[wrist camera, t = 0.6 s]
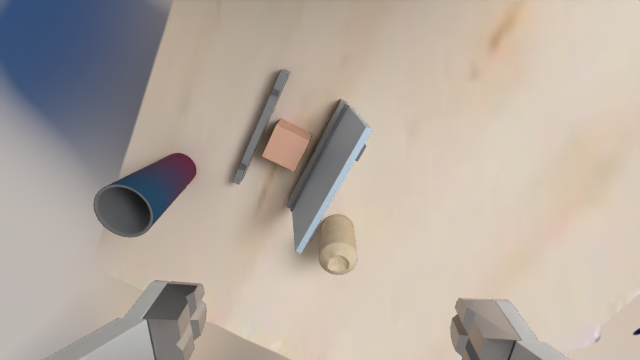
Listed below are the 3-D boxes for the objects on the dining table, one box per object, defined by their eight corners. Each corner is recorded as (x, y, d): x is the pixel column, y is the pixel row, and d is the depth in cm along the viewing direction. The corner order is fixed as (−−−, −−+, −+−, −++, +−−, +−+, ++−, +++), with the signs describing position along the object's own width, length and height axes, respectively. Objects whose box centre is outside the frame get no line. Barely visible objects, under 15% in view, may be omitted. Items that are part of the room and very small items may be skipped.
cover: (363, 125, 34) (376, 131, 35) (345, 103, 44) (355, 108, 44) (293, 251, 41) (304, 254, 41) (290, 208, 50) (299, 212, 50)
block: (281, 118, 48) (276, 124, 43) (311, 133, 48) (309, 141, 44) (268, 147, 49) (261, 156, 45) (297, 161, 50) (294, 171, 46)
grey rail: (284, 68, 45) (280, 69, 42) (347, 102, 46) (348, 105, 44) (237, 175, 51) (232, 182, 48) (294, 202, 52) (292, 210, 50)
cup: (199, 192, 52) (151, 243, 38) (157, 182, 52) (93, 230, 38) (204, 153, 50) (154, 192, 36) (160, 142, 49) (92, 178, 36)
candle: (324, 244, 55) (322, 283, 46) (318, 216, 53) (315, 251, 44) (356, 240, 55) (360, 278, 45) (351, 211, 53) (355, 245, 43)
